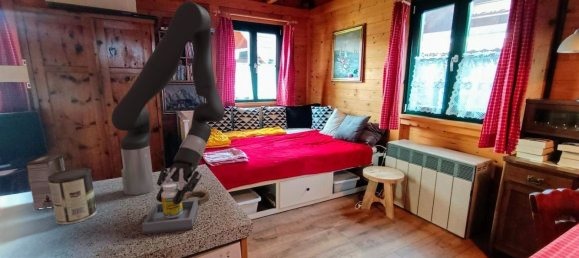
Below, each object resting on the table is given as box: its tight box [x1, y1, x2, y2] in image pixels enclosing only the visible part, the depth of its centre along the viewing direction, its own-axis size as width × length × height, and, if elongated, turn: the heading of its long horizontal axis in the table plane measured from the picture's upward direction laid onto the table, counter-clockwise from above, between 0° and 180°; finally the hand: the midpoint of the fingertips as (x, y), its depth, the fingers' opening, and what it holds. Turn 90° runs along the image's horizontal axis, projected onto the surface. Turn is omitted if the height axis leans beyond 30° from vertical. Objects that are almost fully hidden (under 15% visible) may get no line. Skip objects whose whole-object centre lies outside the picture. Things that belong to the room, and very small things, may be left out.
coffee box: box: [25, 154, 67, 210], centre depth 91 cm, size 9×6×16 cm
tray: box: [141, 198, 199, 236], centre depth 80 cm, size 13×13×3 cm
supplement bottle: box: [161, 182, 183, 218], centre depth 80 cm, size 5×5×10 cm
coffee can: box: [48, 167, 98, 225], centre depth 82 cm, size 10×10×14 cm
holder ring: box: [182, 190, 210, 206], centre depth 94 cm, size 9×9×2 cm
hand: (167, 202), depth 78 cm, fingers closed on supplement bottle, 5 cm apart
